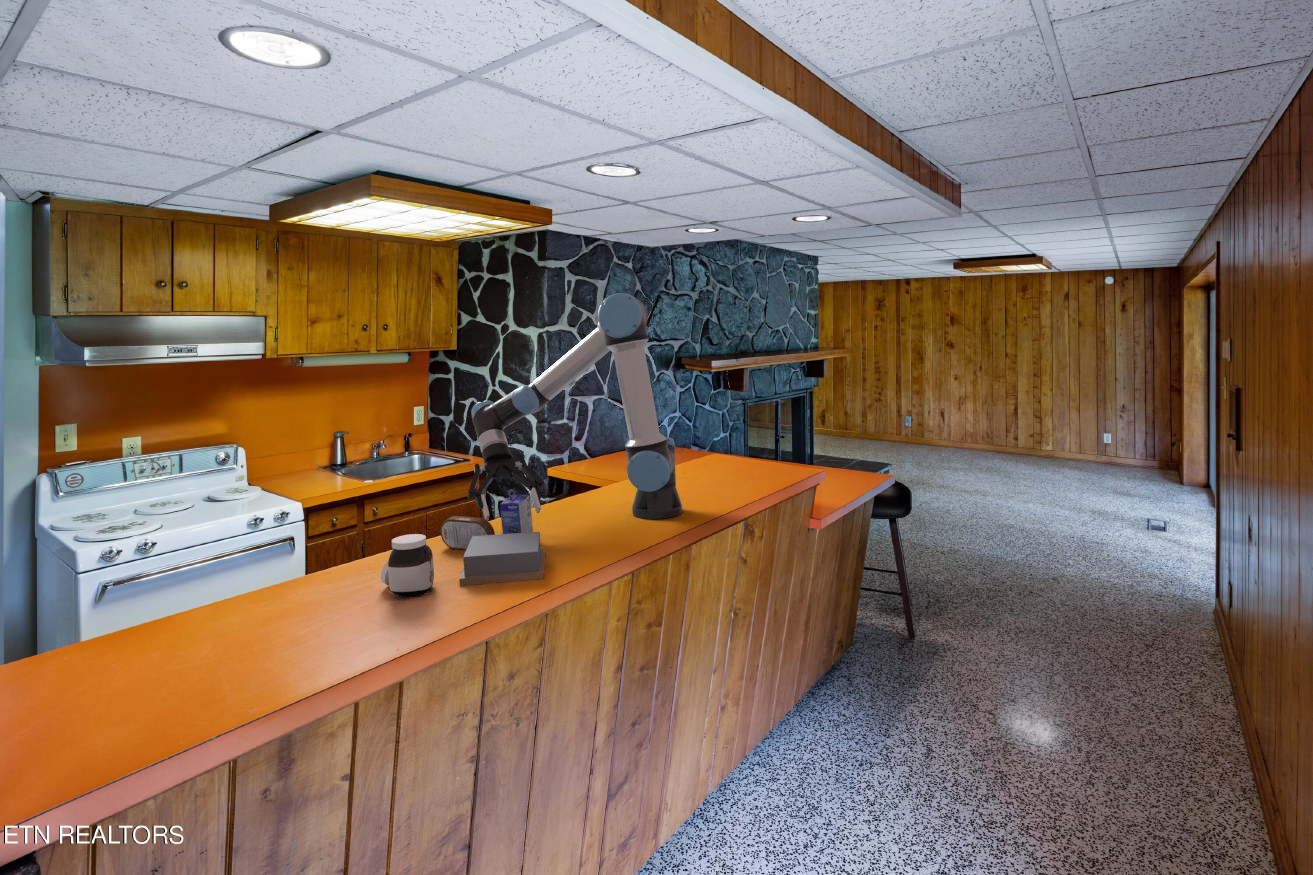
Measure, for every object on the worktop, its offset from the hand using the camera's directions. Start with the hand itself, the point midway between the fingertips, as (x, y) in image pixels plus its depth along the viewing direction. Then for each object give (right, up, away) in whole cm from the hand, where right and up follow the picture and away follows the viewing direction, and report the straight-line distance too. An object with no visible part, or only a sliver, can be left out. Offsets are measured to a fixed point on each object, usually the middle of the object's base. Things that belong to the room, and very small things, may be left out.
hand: (513, 514), depth 171 cm
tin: (-11, -9, -2) cm, 14 cm away
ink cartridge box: (+1, -8, +1) cm, 8 cm away
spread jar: (-16, -13, -30) cm, 36 cm away
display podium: (+2, -10, -18) cm, 21 cm away
